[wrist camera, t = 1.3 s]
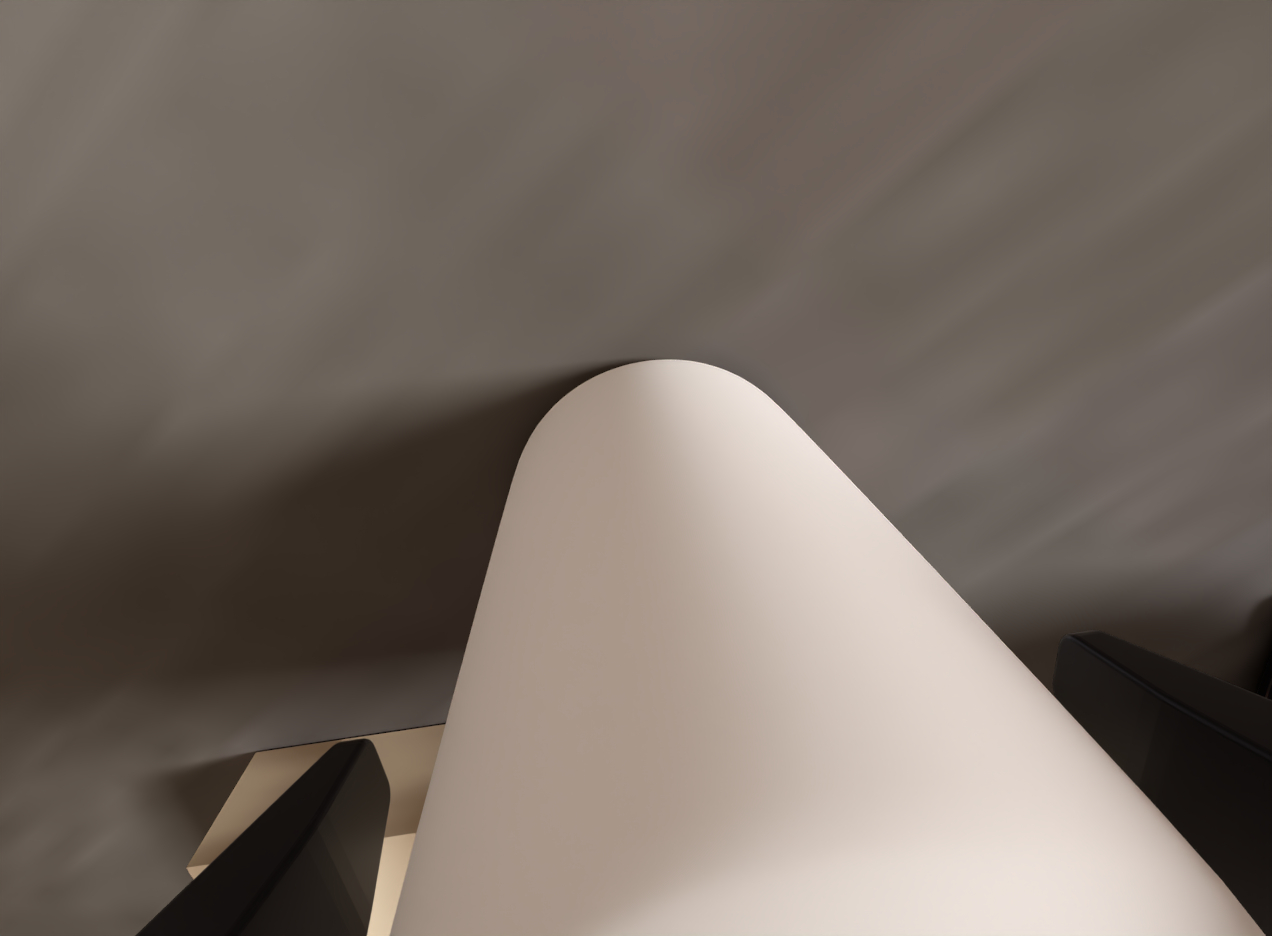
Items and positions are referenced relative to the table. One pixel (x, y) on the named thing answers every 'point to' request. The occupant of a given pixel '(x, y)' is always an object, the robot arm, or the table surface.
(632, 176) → the table surface
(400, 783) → the frame
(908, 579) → the can
